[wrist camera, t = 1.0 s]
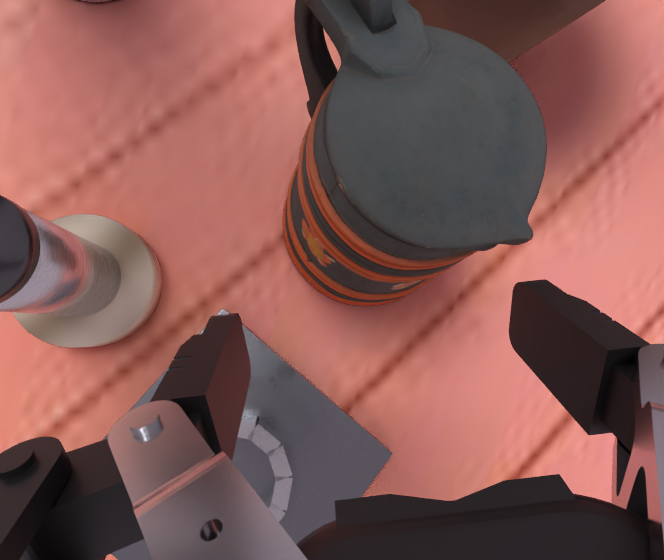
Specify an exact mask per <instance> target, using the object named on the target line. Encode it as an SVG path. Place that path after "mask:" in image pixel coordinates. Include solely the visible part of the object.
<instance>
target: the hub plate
mask: <svg viewBox="0 0 664 560" xmlns="http://www.w3.org/2000/svg"><path fill="white" fill-rule="evenodd" d="M226 314H230V313H229V312H228V311H226V310H225V309H222V310H221V311H220V312H219V313H218V314H217V315H226ZM217 315H216V316H217ZM242 326H243V331H244V335H245V340H246V344H247V349H248V353H249V358H250V365H251V378H250V383H249V388H248V392H247V397H246V401H245V406H244V410H243V415H242V419H241V424H240V428H239V432H238V437H237V441H236V446H235V450H234V455H233V459H232V462H233V463H234V465H235V466H236V467H237V469H238V470H239V471H240V473H241V474H242V475H243V476H244V478H245V479H246V480H247V482H248V483H249V484H250V486H251V487H252V488H253V489H254V491H255V492H256V493H257V495H258V496H259V497H260V498H261V500H262V501H263V502H264V504H265V505H266V506H267V508H268V509H269V510H270V511H271V513H272V514H273V515H274V517H275V518H276V519H277V521H278V522H279V523H280V524H281V526H282V527H283V528H284V530H285V531H286V532H287V534H288V535H289V536H290V537H291V539H292V540H293V541H294V543H295V544H297V543H298V542H299V541H300V540H302V539H303V538H304V537H306V536H307V535H308V534H310V533H311V532H313V531H314V530H316V529H318V528H320V527H321V526H323V525H325V524H327V523H330V522H332V521H335V520H336V514H335V501H336V500H344V499H353V498H360V497H361V496H362V495H363V493H364V492H365V491H366V489H367V488H368V486H369V485H370V484H371V482H372V481H373V480H374V478H375V477H376V475H377V474H378V473H379V471H380V470H381V469H382V467H383V466H384V465H385V463H386V462H387V460H388V459H389V458H390V456H391V455H392V452H391V451H390V450H389V449H388V448H387V447H385V446H384V445H383V444H382V443H381V442H380V441H378V440H377V439H376V438H375V437H374V436H373V435H371V434H370V433H369V432H368V431H367V430H365V429H364V428H363V427H362V426H361V425H360V424H358V423H357V422H356V421H355V420H354V419H353V418H351V417H350V416H349V415H348V414H347V413H346V412H344V411H343V410H342V409H341V408H340V407H339V406H337V405H336V404H335V403H334V402H333V401H332V400H330V399H329V398H328V397H327V396H326V395H325V394H323V393H322V392H321V391H320V390H319V389H318V388H316V387H315V386H314V385H313V384H312V383H311V382H309V381H308V380H307V379H306V378H305V377H304V376H302V375H301V374H300V373H299V372H298V371H297V370H295V369H294V368H293V367H292V366H291V365H290V364H288V363H287V362H286V361H285V360H284V359H283V358H281V357H280V356H279V355H278V354H277V353H276V352H274V351H273V350H272V349H271V348H270V347H269V346H267V345H266V344H265V343H264V342H263V341H261V340H260V339H259V338H258V337H257V336H256V335H254V334H253V333H252V332H251V331H250V330H249V329H247V328H246V327H245V326H244V325H243V324H242ZM204 329H205V328H204ZM204 329H203V330H202V332H201V333H200V334H202V333H203V331H204ZM168 370H169V368H168V369H167V370H166V371H165V372H164V373H163V374H162V375H161V376H160V378H159V379H158V380H157V381H156V382H155V383H154V384H153V385H152V386H151V387H150V389H149V390H148V391H147V392H146V393H145V394H144V395H143V396H142V397H141V398H140V400H139V401H138V402H137V403H136V404H135V405H134V406H133V407H132V408H131V409H130V410H129V411H131V410H133V409H135V408H136V407H139V406H141V405H143V404H146V403H149V402H150V400H151V399H152V397H153V395H154V393H155V392H156V390H157V388H158V386H159V384H160V383H161V381H162V379H163V377H164V375H165V374H166V372H167V371H168ZM108 435H109V433H108ZM108 435H107V436H106V437H105V438H104V439H103V440H105V439H108ZM111 554H112V555H113V556H115V557H116V558H117V559H118V560H153V559H152V556H151V554H150V551H149V549H148V546H147V544H146V541H145V539H143V540H141V541H139V542H136V543H134V544H131V545H129V546H127V547H124V548H122V549H120V550H117V551H115V552H113V553H111Z"/></svg>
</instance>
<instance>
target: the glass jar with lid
mask: <svg viewBox="0 0 664 560" xmlns="http://www.w3.org/2000/svg"><path fill="white" fill-rule="evenodd" d="M120 284H121V271H120V267H119V264H118V262H117V260H116V259H115V257H114V256H113V255H112V254H111V253H110V252H109V251H108V250H106V249H105V248H103V247H101V246H99V245H97V244H95V243H93V242H91V241H89V240H87V239H85V238H83V237H81V236H79V235H77V234H75V233H72V232H70V231H68V230H66V229H64V228H62V227H60V226H58V225H56V224H54V223H52V222H50V221H48V220H46V219H43V218H41V217H39V216H37V215H35V214H33V213H31V212H29V211H27V210H25V209H23V208H22V207H20V206H19V205H17V204H16V203H14V202H13V201H11V200H9V199H7V198H5V197H3V196H1V195H0V311H4V312H16V313H29V314H42V315H55V316H67V317H85V316H90V315H93V314H96V313H98V312H100V311H101V310H103V309H104V308H106V307H107V306H108V305H109V304H110V303H111V302H112V301H113V300H114V298H115V297H116V295H117V293H118V291H119V288H120Z"/></svg>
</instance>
